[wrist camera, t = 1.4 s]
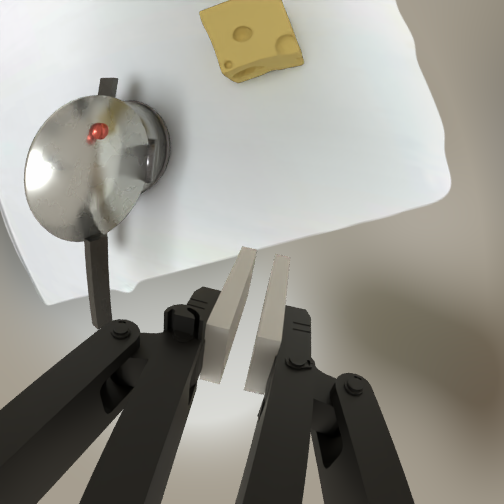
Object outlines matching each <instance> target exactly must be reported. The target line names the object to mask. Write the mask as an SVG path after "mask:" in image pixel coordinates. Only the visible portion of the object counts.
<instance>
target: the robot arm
mask: <svg viewBox="0 0 504 504" xmlns="http://www.w3.org/2000/svg"><path fill="white" fill-rule="evenodd" d="M256 253H257V250H256V249H252V248H247V247H243V246H242V248H241V250H240V253H239V255H238V257H237V259H236V261H235V263H234V265H233V267H232V270H231V272H230V274H229V276H228V278H227V280H226V283H225V285H224V287H223V289H222V291H219V290H215V289H211V288H206V287H201V288H200V289H198V290H196V291H195V292H194V293H193V295H192V296H191V298H190V300H189V301H188V303H187V305H183V304H179V305H173V306H171V307H168V308H167V309H166V310H165V311H164V331H163V332H162V333H140V330H139V328H138V326H137V325H136V324H135V323H133V322H131V321H128V320H120V319H118V320H113V321H111V322H109V323H107V324H106V325H104V326H103V327H102V328H101V329H99V330H98V331H97V332H95V333H94V334H93V335H92V336H90V337H89V338H88V339H87V340H85V341H84V342H83V343H81V344H80V345H79V346H78V347H77V348H75V349H74V350H73V351H71V352H70V353H69V354H68V355H66V356H65V357H64V358H63V359H61V360H60V361H59V362H58V363H57V364H55V365H54V366H53V367H52V368H50V369H49V370H48V371H47V372H45V373H44V374H43V375H42V376H41V377H39V378H38V379H37V380H36V381H34V382H33V383H32V384H31V385H30V386H28V387H27V388H26V389H25V390H24V391H22V392H21V393H20V394H19V395H18V396H16V397H15V398H14V399H13V400H12V401H10V402H9V403H8V404H7V405H6V406H5V407H3V408H2V409H1V410H0V504H37V503H38V501H39V500H40V499H41V498H42V497H43V496H44V495H45V494H46V493H47V492H48V491H49V490H50V488H51V487H52V486H53V485H54V484H55V483H56V482H57V481H58V480H59V479H60V478H61V477H62V475H63V474H64V473H65V472H66V471H67V470H68V469H69V468H70V467H71V466H72V465H73V463H74V462H75V461H76V460H77V459H78V458H79V457H80V456H81V455H82V454H83V453H84V451H85V450H86V449H87V448H88V447H89V446H90V445H91V444H92V443H93V442H94V441H95V439H96V438H97V437H98V436H99V435H100V434H101V433H102V432H103V431H104V430H105V429H106V427H107V426H108V425H109V424H110V423H111V422H112V421H113V420H114V419H115V418H116V416H117V415H118V414H119V413H120V412H121V411H122V410H123V411H122V413H121V415H120V417H119V419H118V421H117V423H116V425H115V427H114V429H113V432H112V434H111V436H110V438H109V440H108V442H107V444H106V446H105V448H104V450H103V452H102V455H101V457H100V459H99V461H98V463H97V465H96V467H95V470H94V472H93V474H92V476H91V479H90V481H89V483H88V485H87V487H86V489H85V492H84V494H83V496H82V498H81V501H80V503H79V504H161V501H162V498H163V495H164V491H165V488H166V485H167V481H168V478H169V475H170V472H171V469H172V465H173V462H174V459H175V455H176V452H177V449H178V446H179V443H180V440H181V436H182V433H183V430H184V427H185V424H186V420H187V417H188V414H189V411H190V408H191V405H192V401H193V398H194V395H195V392H196V387H197V380H198V377H199V375H200V379H202V380H205V381H210V382H213V383H217V384H220V381H221V378H222V375H223V372H224V369H225V366H226V363H227V360H228V356H229V353H230V350H231V347H232V344H233V341H234V337H235V334H236V331H237V328H238V325H239V322H240V319H241V316H242V312H243V309H244V306H245V303H246V299H247V296H248V292H249V287H250V283H251V278H252V272H253V268H254V263H255V258H256ZM289 263H290V257H287V256H282V255H278V254H275V258H274V262H273V266H272V271H271V275H270V279H269V283H268V287H267V291H266V296H265V300H264V305H263V309H262V314H261V318H260V323H259V327H258V331H257V336H256V340H255V345H254V349H253V353H252V358H251V362H250V366H249V371H248V375H247V379H246V384H245V388H244V390H245V391H249V392H254V393H259V394H264V393H265V395H264V399H263V402H262V405H261V408H260V410H259V413H258V421H257V425H256V429H255V432H254V436H253V440H252V444H251V448H250V452H249V455H248V459H247V463H246V467H245V470H244V474H243V477H242V481H241V485H240V488H239V492H238V495H237V499H236V503H235V504H302V498H303V492H304V484H305V477H306V469H307V460H308V452H309V442H310V433H311V436H312V441H313V446H314V451H315V456H316V462H317V466H318V472H319V477H320V483H321V488H322V494H323V499H324V504H414V501H413V498H412V495H411V492H410V489H409V486H408V483H407V480H406V477H405V474H404V471H403V468H402V466H401V463H400V460H399V457H398V454H397V452H396V449H395V446H394V444H393V441H392V438H391V436H390V433H389V430H388V428H387V425H386V422H385V420H384V417H383V415H382V412H381V410H380V407H379V405H378V402H377V400H376V397H375V395H374V392H373V390H372V387H371V385H370V384H369V382H368V381H367V380H366V379H364V378H363V377H361V376H359V375H357V374H353V373H345V374H342V375H340V376H338V378H337V379H336V378H333V377H331V376H329V375H326V374H325V373H322V372H321V371H320V370H318V369H317V368H316V366H315V362H314V360H313V359H312V358H311V317H310V315H309V314H308V312H307V311H306V310H305V309H300V308H295V307H291V306H287V305H285V304H286V295H287V285H288V274H289V265H290V264H289ZM200 372H201V373H200Z"/></svg>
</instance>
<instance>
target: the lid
mask: <svg viewBox="0 0 504 504" xmlns="http://www.w3.org/2000/svg"><path fill="white" fill-rule="evenodd" d="M155 151H156V144H153V143H148V138H147V134H146V131H145V128H144V126H143V123H142V121H141V120H140V118H139V116H138V115H137V114H136V112H135V111H134V110H133V109H132V108H131V107H130V106H129V105H127V104H126V103H124V102H123V101H121V100H119V99H117V98H113V97H110V96H103V95H94V96H85V97H81V98H78V99H75V100H73V101H70V102H69V103H67V104H65V105H63V106H62V107H60V108H59V109H58V110H56V111H55V112H54V113H53V114H52V115H51V116H50V117H49V118H48V119H47V120H46V121H45V122H44V124H43V125H42V126H41V127H40V129H39V131H38V132H37V134H36V136H35V137H34V139H33V142H32V144H31V146H30V149H29V152H28V155H27V158H26V164H25V170H24V186H25V194H26V198H27V202H28V204H29V207H30V210H31V211H32V213H33V215H34V217H35V218H36V220H37V221H38V222H39V223H40V225H42V226H43V227H44V228H45V229H46V230H47V231H48V232H49V233H51V234H53V235H54V236H56V237H58V238H60V239H63V240H67V241H73V242H82V241H84V244H85V260H86V273H87V283H88V293H89V301H90V309H91V316H92V323H93V325H94V326H95V327H96V328H97V329H100V328H102V327H103V326H104V325H106V324H107V323H109V322H111V321H112V313H111V302H110V288H109V270H108V237H107V236H106V235H104V234H106V233H108V232H109V231H111V230H112V229H113V228H115V227H116V226H117V225H118V224H119V223H120V222H121V221H122V220H123V219H124V218H125V217H126V216H127V215H128V213H129V212H130V211H131V209H132V208H133V206H134V205H135V203H136V201H137V199H138V198H139V196H140V193H141V191H142V189H143V186H144V183H145V182H152V180H153V170H154V160H155Z"/></svg>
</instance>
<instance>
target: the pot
mask: <svg viewBox="0 0 504 504" xmlns="http://www.w3.org/2000/svg"><path fill="white" fill-rule="evenodd" d="M117 83H118V78H101V79H100V85H99V92H98V95H103V96H110V97H113V98H115V96H116V89H117ZM123 102H124V103H126V104H127V105H129V106H130V107H131V108H132V109H133V110H134V111H135V112H136V114H137V115H138V116H139V118H140V120H141V121H142V123H143V126H144V128H145V131H146V134H147V138H148V143H153V144H156V151H155V160H154V170H153V180H152V182H145V183H144V186H143V189H142V191H141V193H143V192H144V191H146V190H148V189H150V188H151V187H152V186H154V185H155V184H156V183H157V182H158V180H159V179H160V178H161V176H162V175H163V173H164V171H165V169H166V167H167V164H168V161H169V155H170V138H169V133H168V130H167V127H166V125H165V123H164V121H163V119H162V118H161V116H160V115H159V114H158V113H157V112H156V111H155V110H154V109H153V108H151V107H150V106H148V105H146V104H144V103H142V102H138V101H123ZM104 235H106V236H107V233H106V234H104Z"/></svg>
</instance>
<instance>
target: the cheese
mask: <svg viewBox="0 0 504 504" xmlns="http://www.w3.org/2000/svg"><path fill="white" fill-rule="evenodd" d="M199 14H200V17H201V21H202V23H203V26H204V28H205V29H206V31H207V33H208V35H209V38H210V40H211V42H212V45H213V47H214V50H215V53H216V56H217V59H218V62H219V65H220V68H221V71H222V73H223V74H224V75H225V76H226V77H227V78H229V79H230V80H232V81H234V82H237V83H240V82H243V81H246V80H249V79H252V78H255V77H258V76H260V75H263V74H265V73H267V72H269V71H272V70H281V69H285V68H290V67H295V66H300V65H303V64H304V60H303V57H302V52H301V49H300V47H299V45H298V43H297V40H296V37H295V34H294V32H293V29H292V26H291V23H290V21H289V18H288V16H287V13H286V11H285V8H284V6H283V3H282V0H229V1H226V2H223V3H221V4H218V5H216V6H213V7H210V8H208V9H205V10H202V11H200V12H199Z"/></svg>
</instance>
